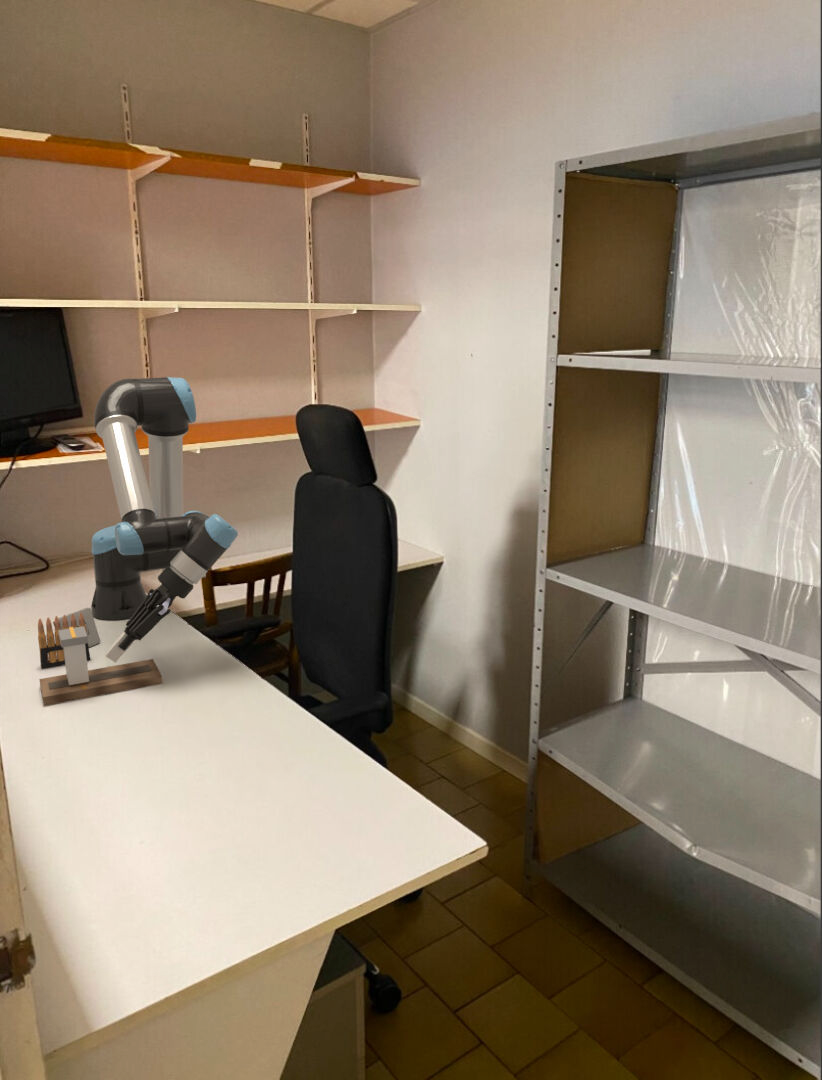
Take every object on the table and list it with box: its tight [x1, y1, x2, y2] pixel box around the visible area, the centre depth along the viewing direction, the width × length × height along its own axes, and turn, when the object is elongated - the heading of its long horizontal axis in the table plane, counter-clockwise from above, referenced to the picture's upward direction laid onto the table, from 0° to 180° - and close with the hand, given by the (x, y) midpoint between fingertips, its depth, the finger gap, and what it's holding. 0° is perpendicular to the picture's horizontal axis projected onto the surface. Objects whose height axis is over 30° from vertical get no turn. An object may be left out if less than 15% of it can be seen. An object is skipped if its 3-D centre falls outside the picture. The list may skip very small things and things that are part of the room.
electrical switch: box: [52, 607, 101, 648], centre depth 201 cm, size 9×5×9 cm, turn 152°
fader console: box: [39, 658, 163, 707], centre depth 180 cm, size 24×10×2 cm, turn 117°
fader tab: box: [58, 626, 89, 685], centre depth 177 cm, size 5×6×11 cm
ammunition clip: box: [37, 612, 92, 670], centre depth 191 cm, size 11×2×12 cm, turn 119°
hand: (110, 658), depth 180 cm, fingers closed
